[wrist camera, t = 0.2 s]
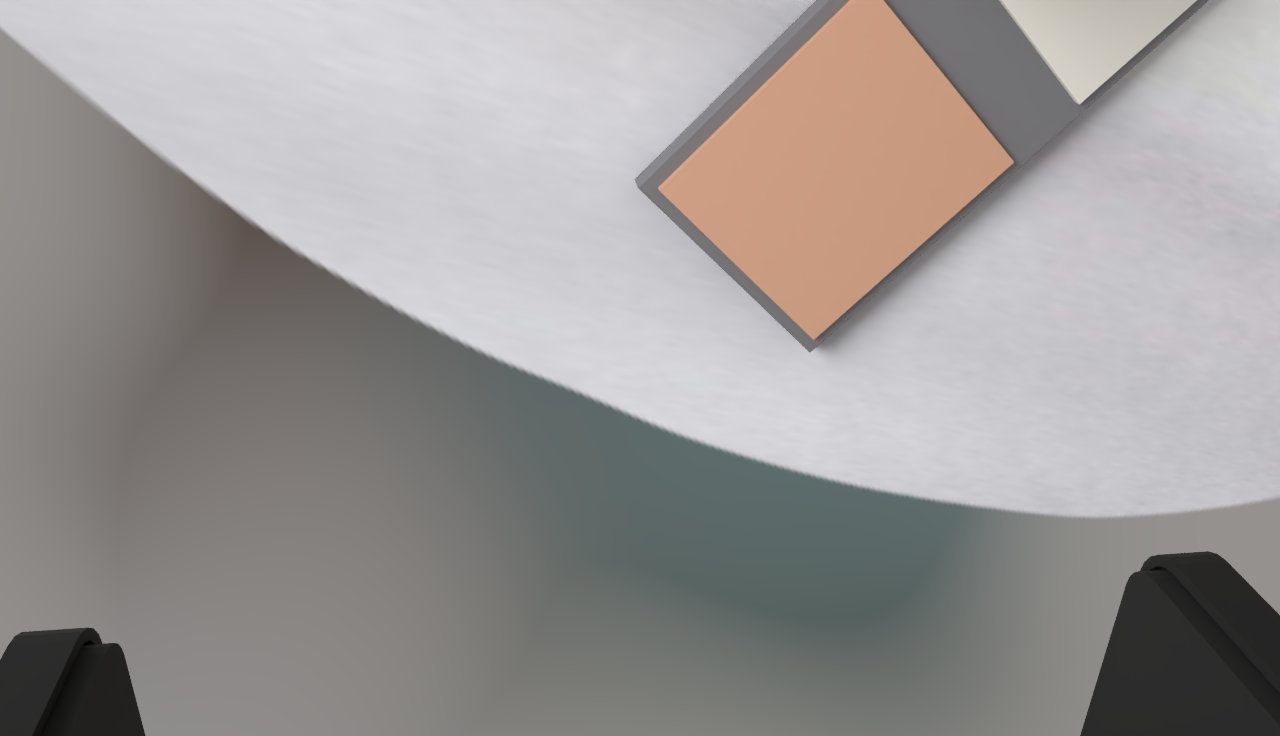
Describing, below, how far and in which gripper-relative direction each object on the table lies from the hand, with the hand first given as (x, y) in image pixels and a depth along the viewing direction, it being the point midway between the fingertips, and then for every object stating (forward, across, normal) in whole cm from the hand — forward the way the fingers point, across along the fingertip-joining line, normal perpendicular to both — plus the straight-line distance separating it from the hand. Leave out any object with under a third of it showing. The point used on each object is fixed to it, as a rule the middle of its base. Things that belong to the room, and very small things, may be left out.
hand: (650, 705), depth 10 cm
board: (+31, -16, 0) cm, 35 cm away
